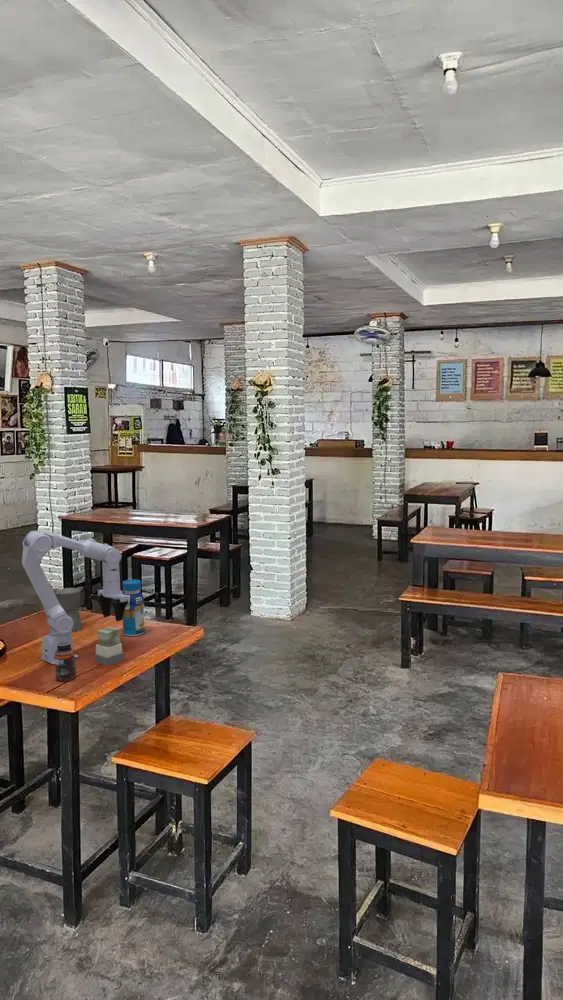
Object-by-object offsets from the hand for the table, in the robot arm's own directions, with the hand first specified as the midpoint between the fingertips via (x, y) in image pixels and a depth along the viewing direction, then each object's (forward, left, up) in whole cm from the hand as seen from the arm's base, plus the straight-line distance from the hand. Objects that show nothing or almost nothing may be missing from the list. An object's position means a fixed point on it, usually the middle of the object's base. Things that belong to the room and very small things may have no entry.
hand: (112, 618), depth 246 cm
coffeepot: (+2, +31, -11) cm, 33 cm away
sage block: (-9, -11, -5) cm, 15 cm away
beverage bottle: (+14, +8, -11) cm, 19 cm away
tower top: (-9, -11, -8) cm, 16 cm away
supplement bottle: (-27, -14, -11) cm, 32 cm away
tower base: (-9, -11, -11) cm, 18 cm away
